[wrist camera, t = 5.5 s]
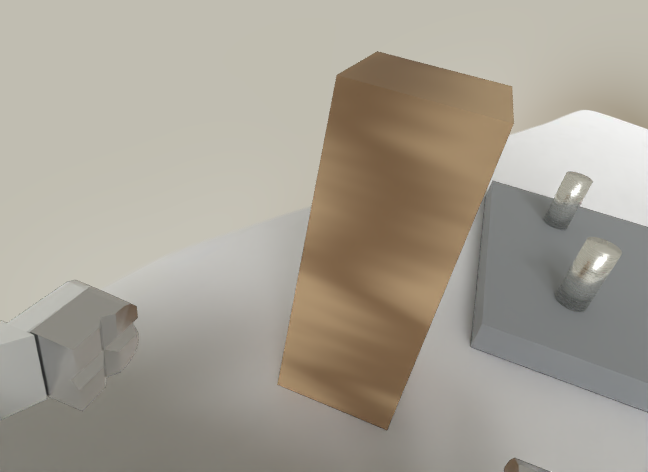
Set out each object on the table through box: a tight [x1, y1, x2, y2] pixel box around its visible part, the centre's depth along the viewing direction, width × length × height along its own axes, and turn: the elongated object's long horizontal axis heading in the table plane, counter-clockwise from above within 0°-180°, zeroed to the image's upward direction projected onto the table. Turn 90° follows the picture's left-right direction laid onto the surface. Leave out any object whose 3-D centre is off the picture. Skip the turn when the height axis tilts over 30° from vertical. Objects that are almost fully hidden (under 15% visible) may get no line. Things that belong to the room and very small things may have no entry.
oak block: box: [277, 51, 514, 430], centre depth 17 cm, size 4×4×12 cm
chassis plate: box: [471, 181, 648, 412], centre depth 27 cm, size 18×18×2 cm
